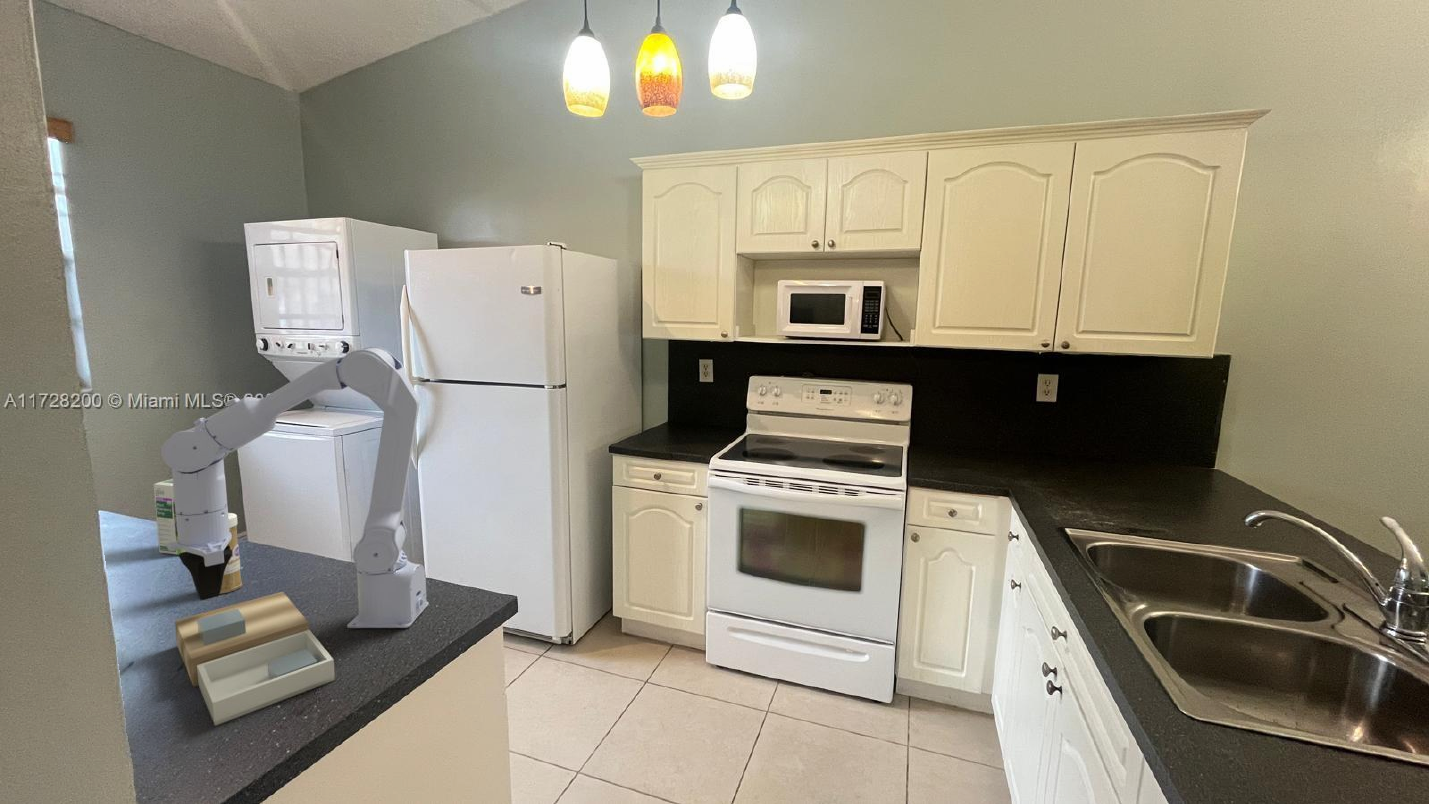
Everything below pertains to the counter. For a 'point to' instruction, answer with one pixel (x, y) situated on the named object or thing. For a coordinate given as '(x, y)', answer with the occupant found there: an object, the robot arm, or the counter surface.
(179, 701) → the counter surface
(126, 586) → the counter surface
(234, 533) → the sprinkles bottle
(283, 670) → the slate tile
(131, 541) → the counter surface
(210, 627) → the slate tile
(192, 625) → the maple bench
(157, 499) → the syrup box
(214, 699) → the tray
